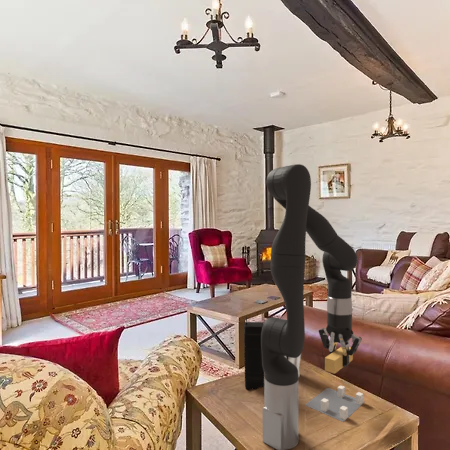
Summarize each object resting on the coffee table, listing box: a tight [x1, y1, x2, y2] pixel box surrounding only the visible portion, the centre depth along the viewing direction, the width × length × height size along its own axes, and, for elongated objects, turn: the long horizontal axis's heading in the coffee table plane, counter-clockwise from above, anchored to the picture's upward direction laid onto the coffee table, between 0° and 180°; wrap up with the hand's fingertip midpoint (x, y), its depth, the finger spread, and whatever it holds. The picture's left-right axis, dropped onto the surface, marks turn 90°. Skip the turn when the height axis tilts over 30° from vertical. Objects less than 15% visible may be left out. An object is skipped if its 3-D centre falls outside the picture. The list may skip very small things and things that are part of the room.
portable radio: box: [243, 316, 265, 390], centre depth 126 cm, size 8×6×25 cm
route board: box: [304, 385, 365, 423], centre depth 112 cm, size 15×13×4 cm
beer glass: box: [285, 354, 302, 378], centre depth 132 cm, size 7×7×15 cm
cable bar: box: [324, 346, 354, 375], centre depth 111 cm, size 13×3×4 cm, turn 137°
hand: (339, 364), depth 111 cm, fingers closed on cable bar, 3 cm apart
